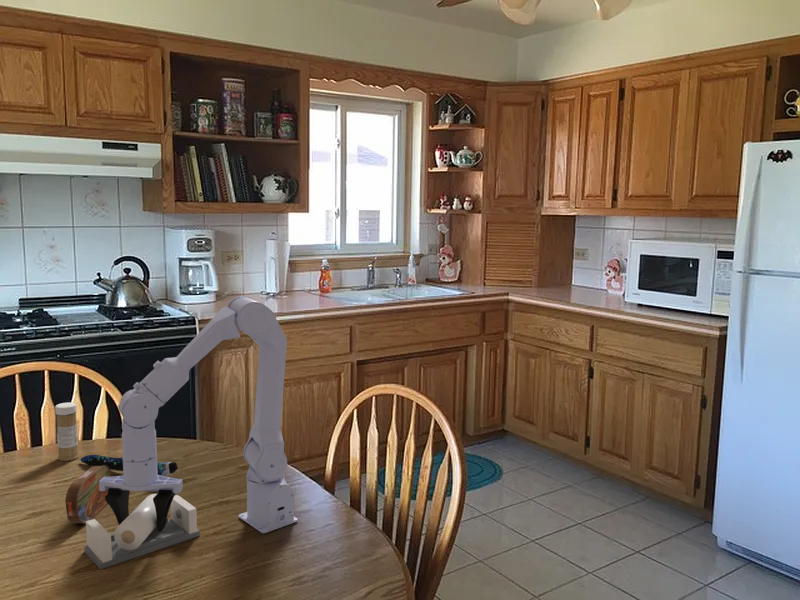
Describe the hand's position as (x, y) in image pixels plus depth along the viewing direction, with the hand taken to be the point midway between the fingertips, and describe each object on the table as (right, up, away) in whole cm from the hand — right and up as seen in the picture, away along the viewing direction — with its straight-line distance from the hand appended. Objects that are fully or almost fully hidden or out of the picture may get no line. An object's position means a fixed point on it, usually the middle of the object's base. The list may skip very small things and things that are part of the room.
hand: (142, 528), depth 123 cm
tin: (-15, -1, +12) cm, 19 cm away
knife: (-16, +1, +32) cm, 36 cm away
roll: (0, +1, 0) cm, 1 cm away
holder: (0, -3, 0) cm, 3 cm away
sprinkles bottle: (-34, +3, +41) cm, 53 cm away
